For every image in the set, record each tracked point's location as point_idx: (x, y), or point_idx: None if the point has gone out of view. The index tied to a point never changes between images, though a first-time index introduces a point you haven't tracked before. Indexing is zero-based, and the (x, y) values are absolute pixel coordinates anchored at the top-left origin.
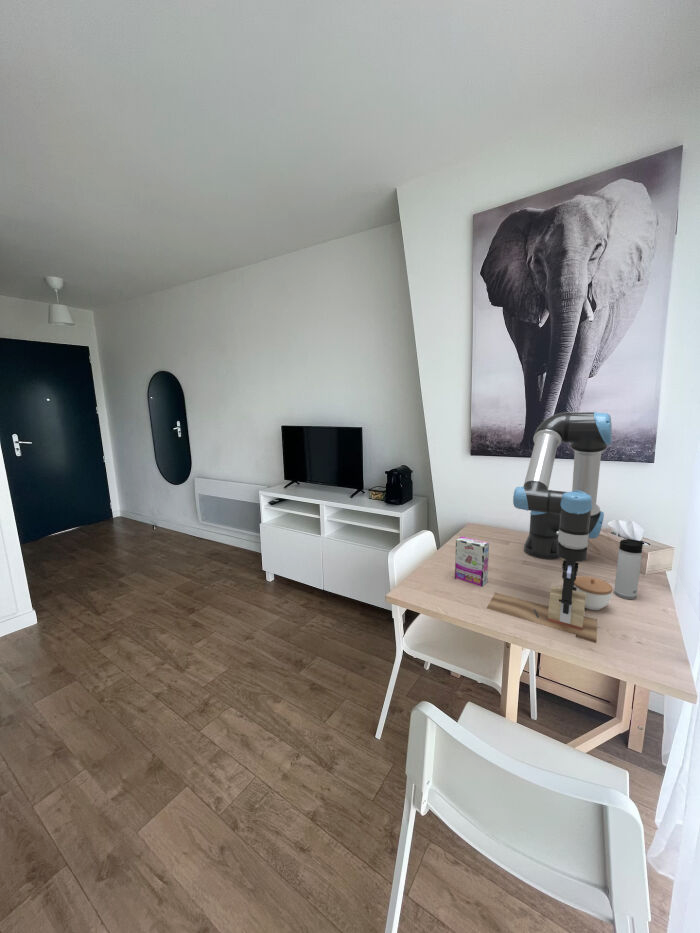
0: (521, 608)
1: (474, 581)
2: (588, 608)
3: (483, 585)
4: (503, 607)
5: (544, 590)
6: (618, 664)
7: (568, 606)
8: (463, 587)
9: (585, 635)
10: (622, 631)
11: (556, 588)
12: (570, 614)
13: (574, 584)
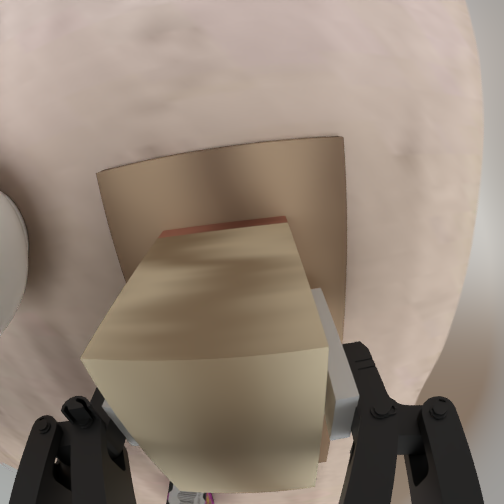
0: None
1: (209, 497)
2: (26, 232)
3: None
4: None
5: (51, 377)
6: (442, 55)
7: (385, 390)
8: (237, 493)
9: (328, 194)
10: (113, 50)
11: (200, 482)
12: (336, 330)
13: (47, 426)
